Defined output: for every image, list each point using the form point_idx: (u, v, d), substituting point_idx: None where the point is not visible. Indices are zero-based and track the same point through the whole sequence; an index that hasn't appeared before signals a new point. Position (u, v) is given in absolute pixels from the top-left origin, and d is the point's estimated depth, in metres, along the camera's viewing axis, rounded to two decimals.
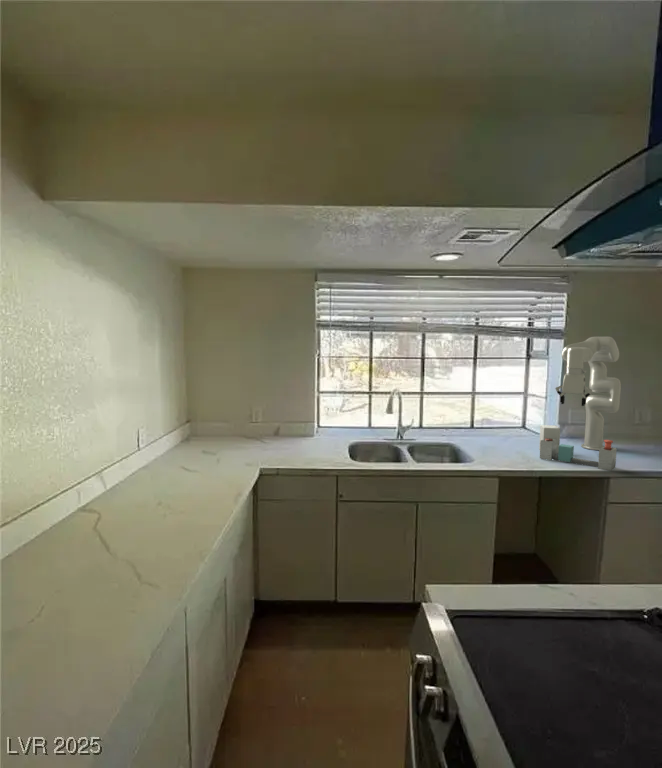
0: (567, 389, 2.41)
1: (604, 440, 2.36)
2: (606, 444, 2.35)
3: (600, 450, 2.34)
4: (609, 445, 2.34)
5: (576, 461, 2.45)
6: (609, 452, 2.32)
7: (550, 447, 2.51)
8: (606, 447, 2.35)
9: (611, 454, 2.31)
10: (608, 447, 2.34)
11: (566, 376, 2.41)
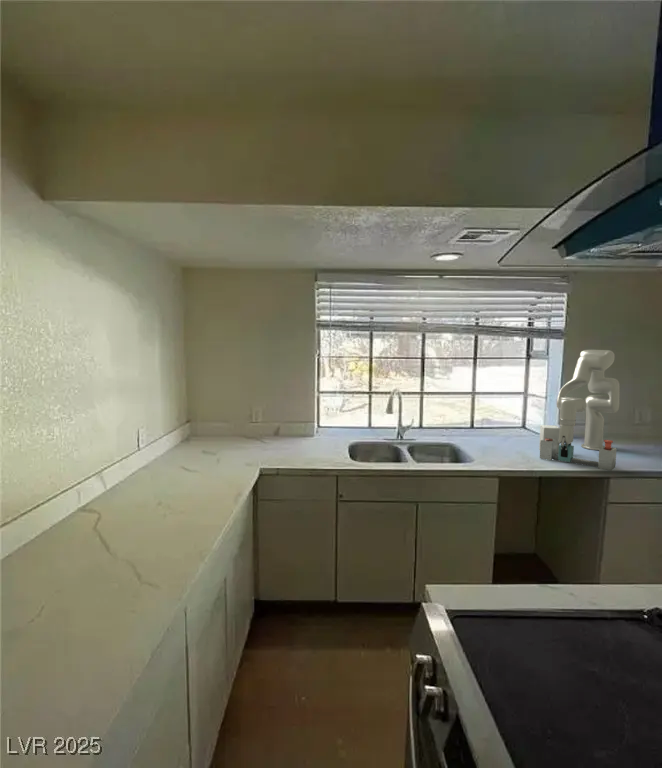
0: (569, 440, 2.45)
1: (604, 440, 2.36)
2: (606, 444, 2.35)
3: (600, 450, 2.34)
4: (609, 445, 2.34)
5: (576, 461, 2.45)
6: (609, 452, 2.32)
7: (550, 447, 2.51)
8: (606, 447, 2.35)
9: (611, 454, 2.31)
10: (608, 447, 2.34)
11: (569, 428, 2.44)
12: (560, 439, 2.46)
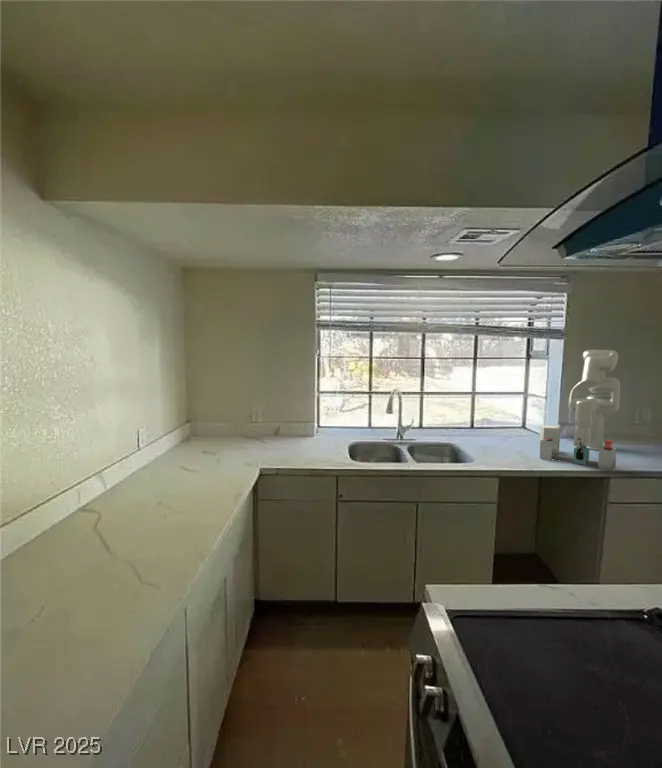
0: (585, 442, 2.40)
1: (604, 440, 2.36)
2: (606, 444, 2.35)
3: (600, 450, 2.34)
4: (609, 445, 2.34)
5: None
6: (609, 452, 2.32)
7: (550, 447, 2.51)
8: (606, 447, 2.35)
9: (611, 454, 2.31)
10: (608, 447, 2.34)
11: (585, 430, 2.39)
12: (575, 441, 2.41)
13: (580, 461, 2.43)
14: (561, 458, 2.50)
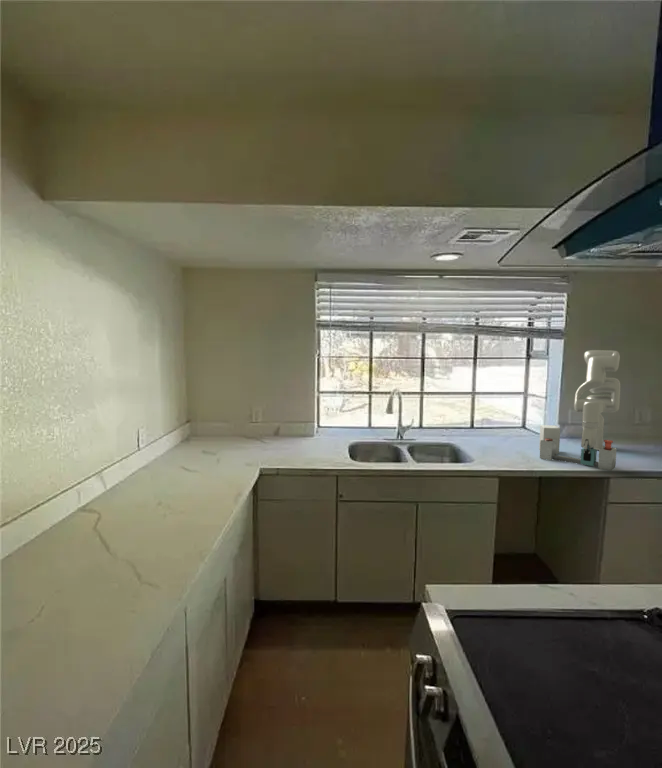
0: (593, 443, 2.38)
1: (604, 440, 2.36)
2: (606, 444, 2.35)
3: (600, 450, 2.34)
4: (609, 445, 2.34)
5: (576, 461, 2.45)
6: (609, 452, 2.32)
7: (550, 447, 2.51)
8: (606, 447, 2.35)
9: (611, 454, 2.31)
10: (608, 447, 2.34)
11: (593, 431, 2.37)
12: (583, 442, 2.39)
13: (587, 462, 2.40)
14: (561, 458, 2.50)
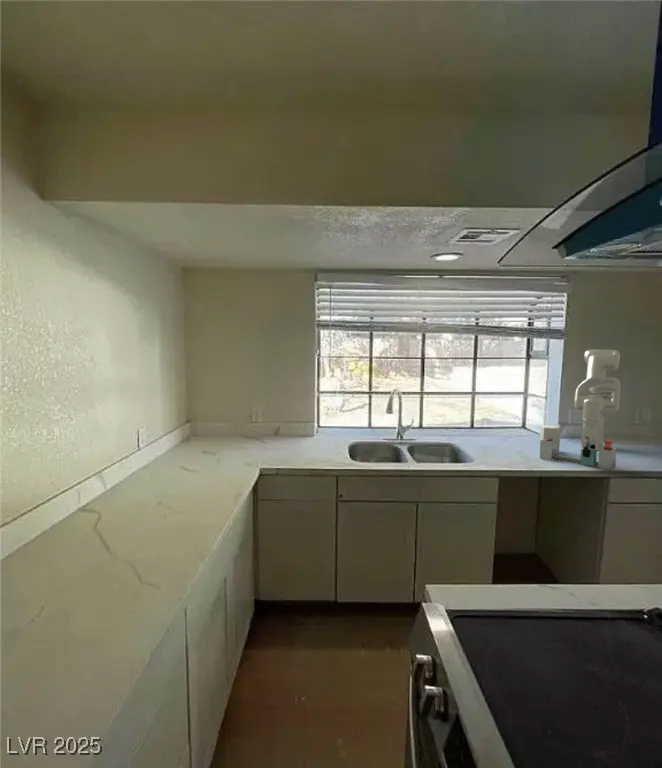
0: (593, 441, 2.38)
1: (604, 440, 2.36)
2: (606, 444, 2.35)
3: (600, 450, 2.34)
4: (609, 445, 2.34)
5: (576, 461, 2.45)
6: (609, 452, 2.32)
7: (550, 447, 2.51)
8: (606, 447, 2.35)
9: (611, 454, 2.31)
10: (608, 447, 2.34)
11: (593, 428, 2.37)
12: (583, 440, 2.39)
13: (587, 462, 2.40)
14: (561, 458, 2.50)
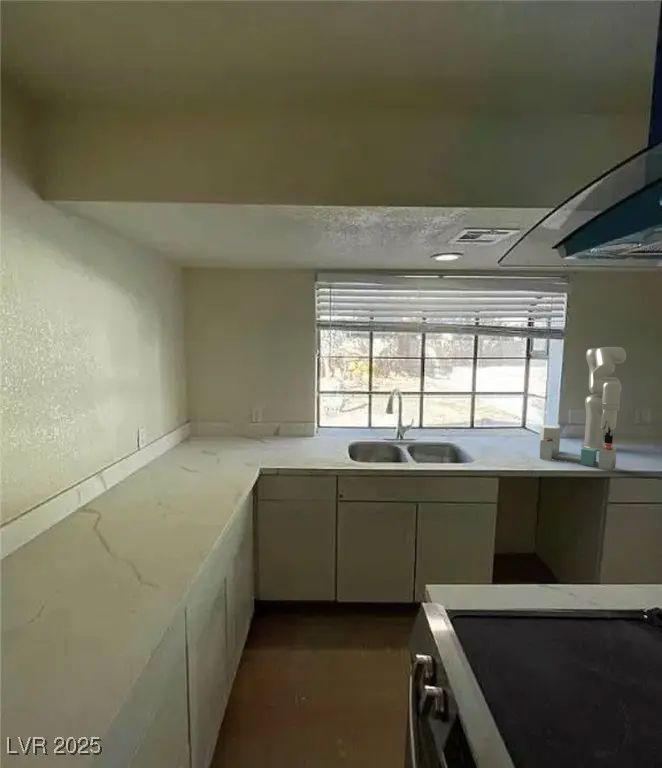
0: (613, 426, 2.31)
1: (604, 442, 2.36)
2: (606, 446, 2.35)
3: (600, 450, 2.34)
4: (609, 447, 2.34)
5: (576, 461, 2.45)
6: (609, 452, 2.32)
7: (550, 447, 2.51)
8: None
9: (611, 454, 2.31)
10: None
11: (613, 412, 2.30)
12: (603, 424, 2.32)
13: (587, 462, 2.40)
14: (561, 458, 2.50)
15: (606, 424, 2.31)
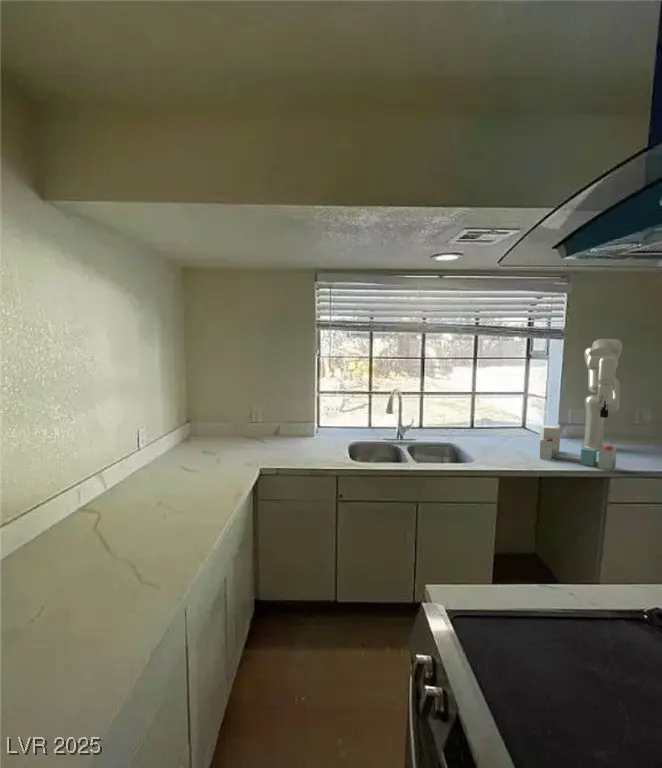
0: (608, 400, 2.36)
1: (604, 445, 2.36)
2: None
3: (600, 450, 2.34)
4: None
5: (576, 461, 2.45)
6: (609, 452, 2.32)
7: (550, 447, 2.51)
8: None
9: (611, 454, 2.31)
10: None
11: (609, 387, 2.35)
12: (599, 399, 2.37)
13: (587, 462, 2.40)
14: (561, 458, 2.50)
15: (602, 399, 2.36)
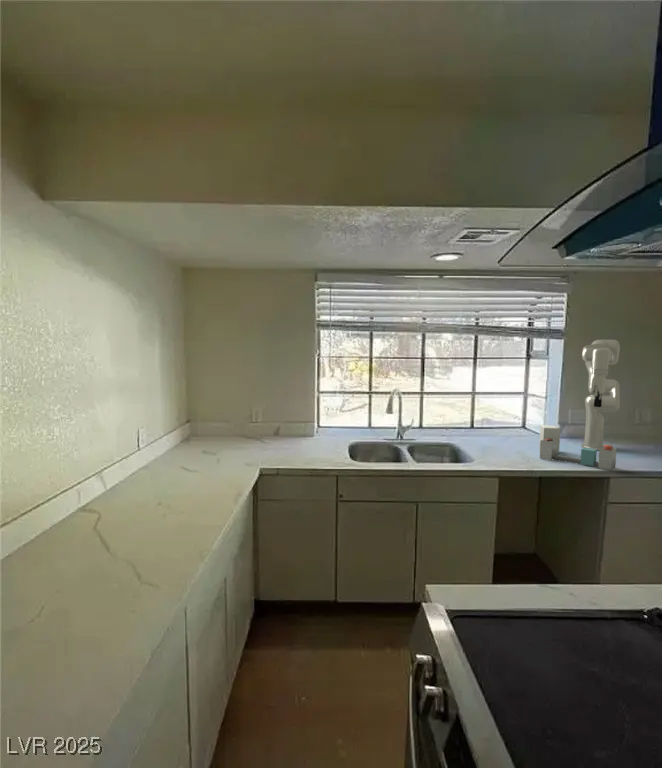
0: (602, 390, 2.44)
1: (604, 445, 2.36)
2: None
3: (600, 450, 2.34)
4: None
5: (576, 461, 2.45)
6: (609, 452, 2.32)
7: (550, 447, 2.51)
8: None
9: (611, 454, 2.31)
10: None
11: (602, 377, 2.43)
12: (592, 389, 2.44)
13: (587, 462, 2.40)
14: (561, 458, 2.50)
15: (595, 388, 2.44)
